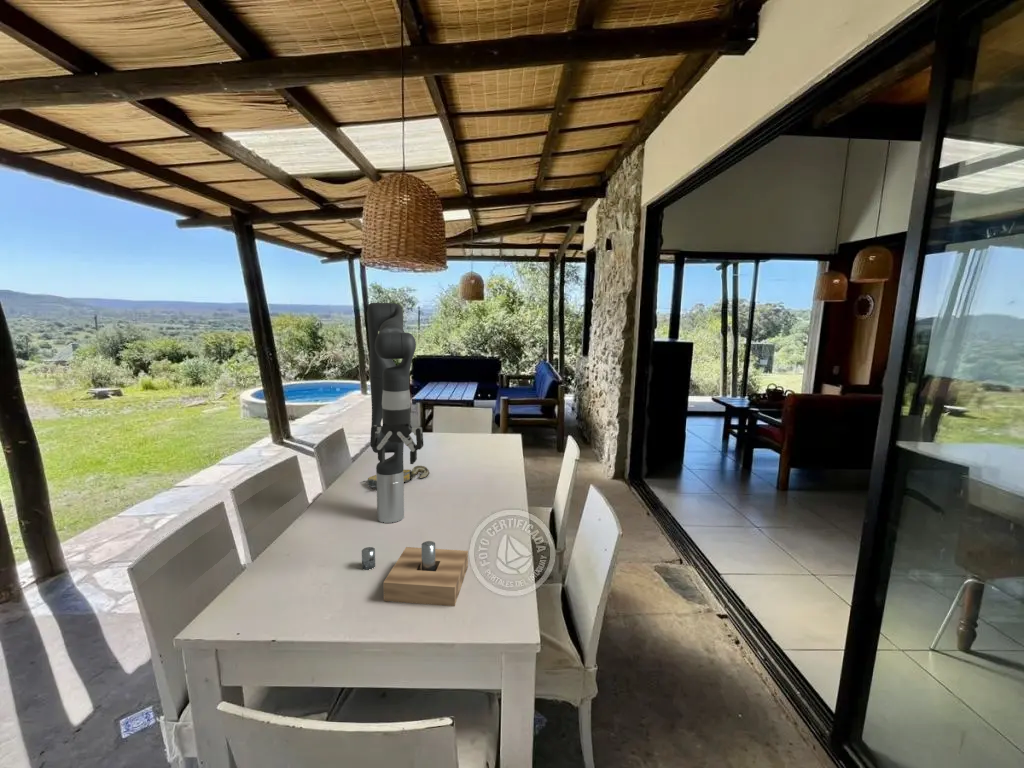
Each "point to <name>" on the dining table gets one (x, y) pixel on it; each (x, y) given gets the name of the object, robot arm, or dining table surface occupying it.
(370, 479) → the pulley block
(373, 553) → the short pin
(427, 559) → the long pin
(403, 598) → the block
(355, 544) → the dining table surface
